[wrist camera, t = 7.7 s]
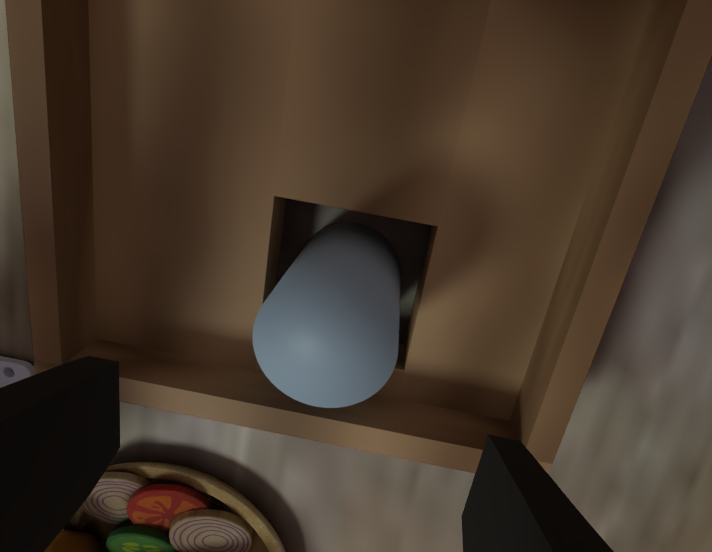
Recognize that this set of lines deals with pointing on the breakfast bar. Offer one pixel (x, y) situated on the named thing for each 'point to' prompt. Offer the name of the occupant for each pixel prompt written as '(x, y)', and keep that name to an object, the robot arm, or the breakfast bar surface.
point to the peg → (333, 319)
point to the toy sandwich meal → (165, 514)
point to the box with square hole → (346, 192)
